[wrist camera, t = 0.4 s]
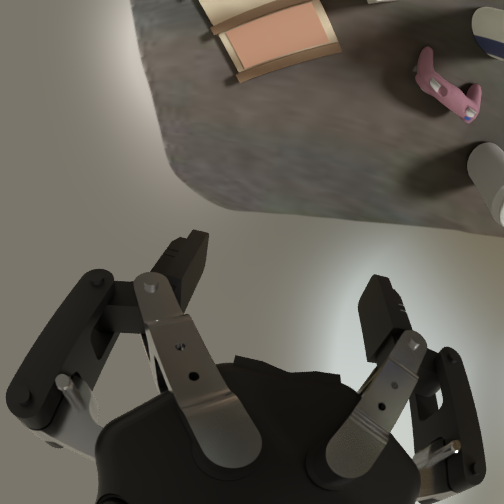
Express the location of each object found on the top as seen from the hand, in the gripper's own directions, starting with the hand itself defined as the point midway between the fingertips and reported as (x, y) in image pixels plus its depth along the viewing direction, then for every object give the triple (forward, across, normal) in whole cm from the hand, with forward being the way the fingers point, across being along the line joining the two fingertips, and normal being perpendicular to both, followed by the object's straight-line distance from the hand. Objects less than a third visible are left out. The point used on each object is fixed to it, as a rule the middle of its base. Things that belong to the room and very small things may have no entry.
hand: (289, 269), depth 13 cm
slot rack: (+24, +7, -18) cm, 31 cm away
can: (+26, -29, -9) cm, 40 cm away
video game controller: (+24, -16, -17) cm, 34 cm away
